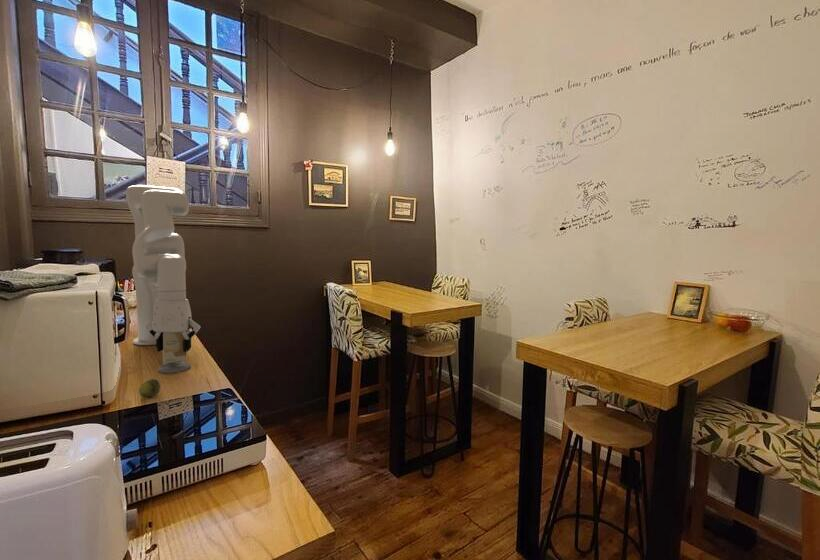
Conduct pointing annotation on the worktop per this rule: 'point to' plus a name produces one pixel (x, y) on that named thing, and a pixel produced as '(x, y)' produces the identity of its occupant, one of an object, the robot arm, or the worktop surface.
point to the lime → (150, 388)
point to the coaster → (174, 367)
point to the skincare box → (173, 347)
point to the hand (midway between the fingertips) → (174, 350)
